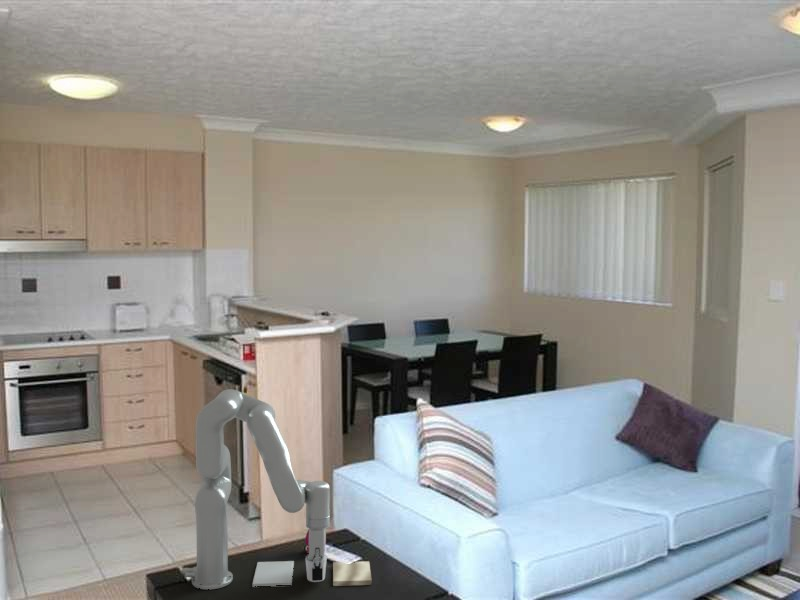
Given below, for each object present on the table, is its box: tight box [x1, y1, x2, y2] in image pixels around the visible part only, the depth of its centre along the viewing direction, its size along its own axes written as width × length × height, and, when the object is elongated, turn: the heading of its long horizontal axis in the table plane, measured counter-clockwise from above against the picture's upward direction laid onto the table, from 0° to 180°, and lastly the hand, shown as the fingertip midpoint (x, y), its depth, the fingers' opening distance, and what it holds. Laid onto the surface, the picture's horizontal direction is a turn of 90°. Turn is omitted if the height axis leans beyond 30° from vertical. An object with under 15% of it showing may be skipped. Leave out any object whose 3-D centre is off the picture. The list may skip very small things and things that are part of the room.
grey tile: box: [251, 560, 295, 588], centre depth 233 cm, size 12×16×1 cm
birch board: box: [332, 560, 373, 587], centre depth 234 cm, size 12×14×2 cm
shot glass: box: [305, 553, 328, 583], centre depth 231 cm, size 7×7×7 cm
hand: (317, 573), depth 232 cm, fingers open, 9 cm apart
